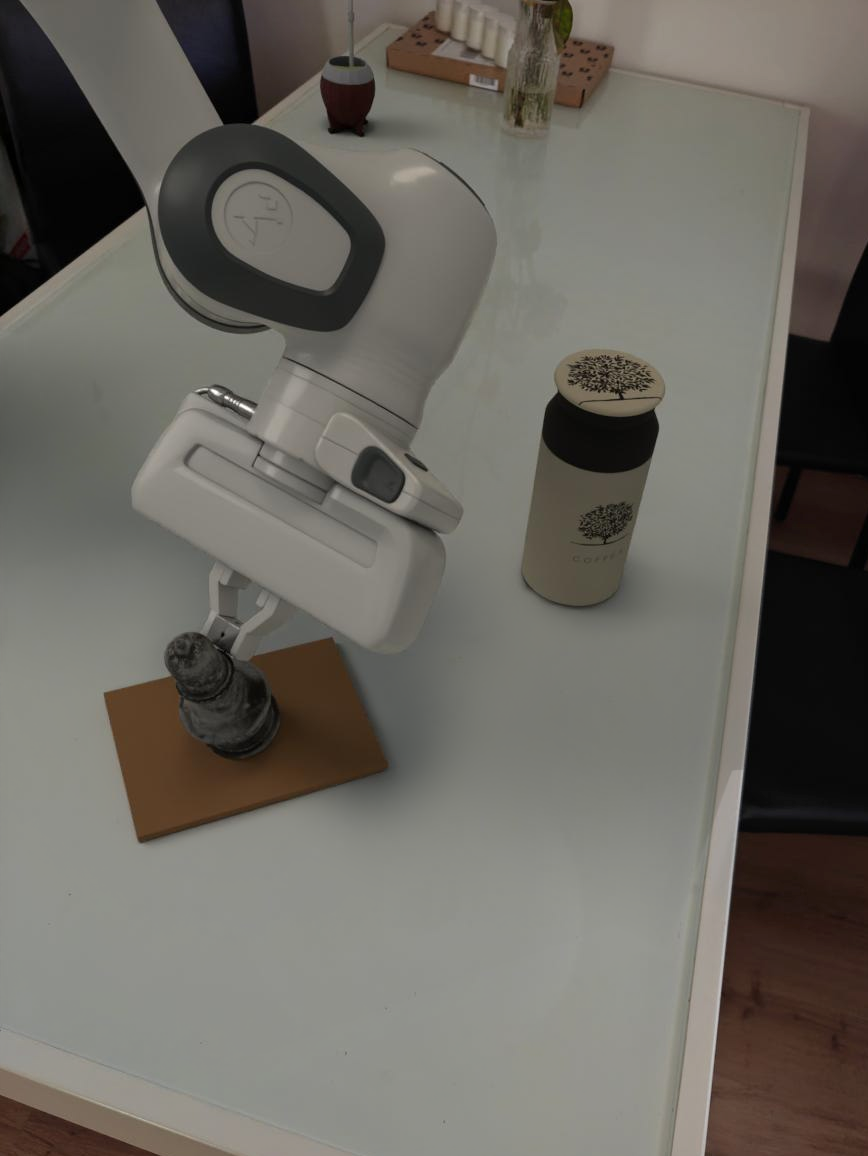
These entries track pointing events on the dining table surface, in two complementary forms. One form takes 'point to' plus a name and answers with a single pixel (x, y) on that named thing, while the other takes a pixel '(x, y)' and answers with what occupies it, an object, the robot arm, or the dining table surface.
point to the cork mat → (230, 786)
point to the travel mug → (590, 475)
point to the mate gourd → (347, 88)
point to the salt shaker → (221, 697)
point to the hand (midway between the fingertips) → (224, 649)
